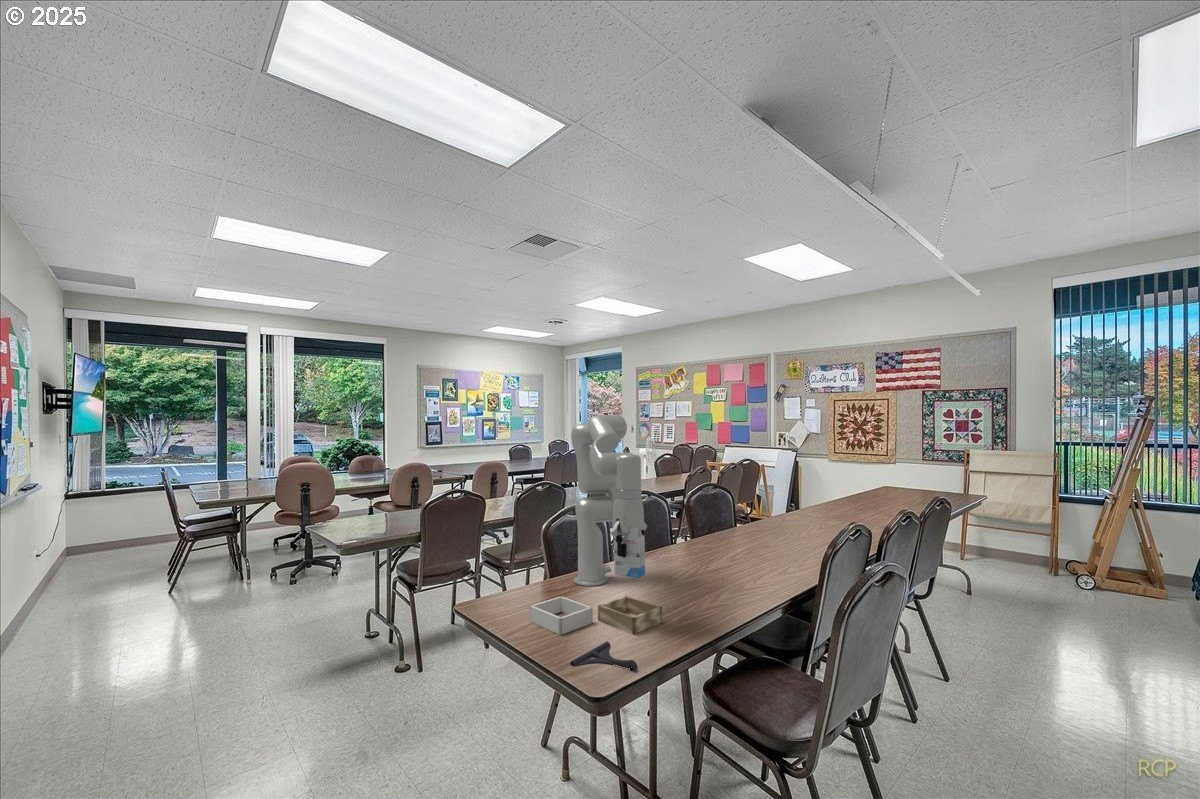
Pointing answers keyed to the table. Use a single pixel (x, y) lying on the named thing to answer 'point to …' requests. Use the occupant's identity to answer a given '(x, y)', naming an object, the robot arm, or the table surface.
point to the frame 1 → (560, 625)
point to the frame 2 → (616, 618)
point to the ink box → (631, 556)
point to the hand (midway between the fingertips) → (629, 554)
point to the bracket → (602, 658)
